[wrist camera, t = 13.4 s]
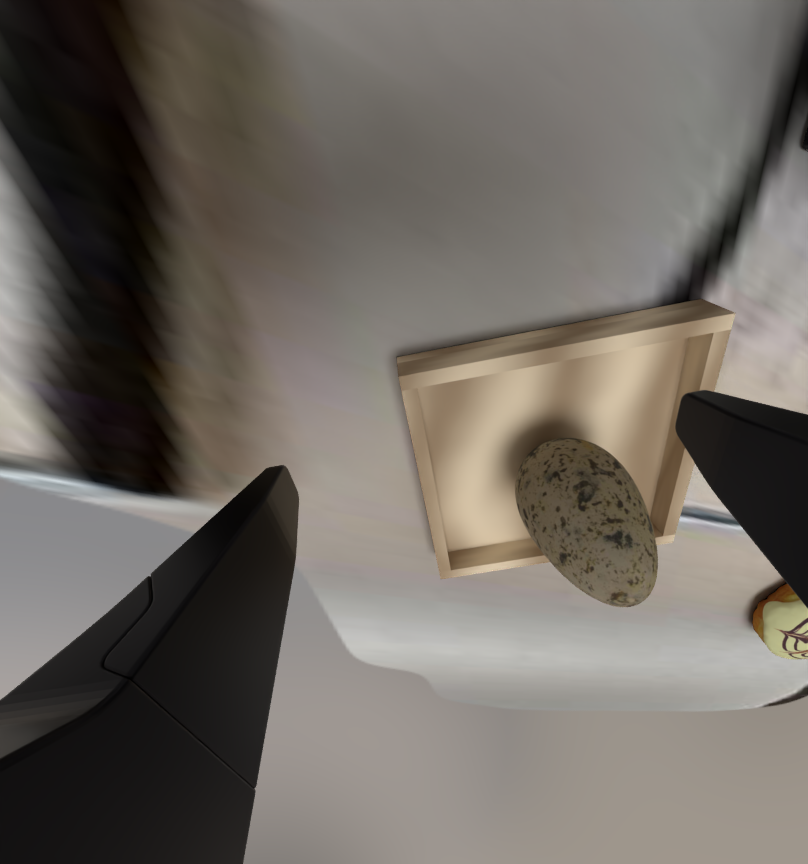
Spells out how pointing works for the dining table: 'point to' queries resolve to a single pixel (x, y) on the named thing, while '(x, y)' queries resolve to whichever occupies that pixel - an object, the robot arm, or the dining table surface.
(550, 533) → the decorative egg
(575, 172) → the dining table surface
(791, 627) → the decorated donut
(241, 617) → the robot arm
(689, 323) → the wooden tray
